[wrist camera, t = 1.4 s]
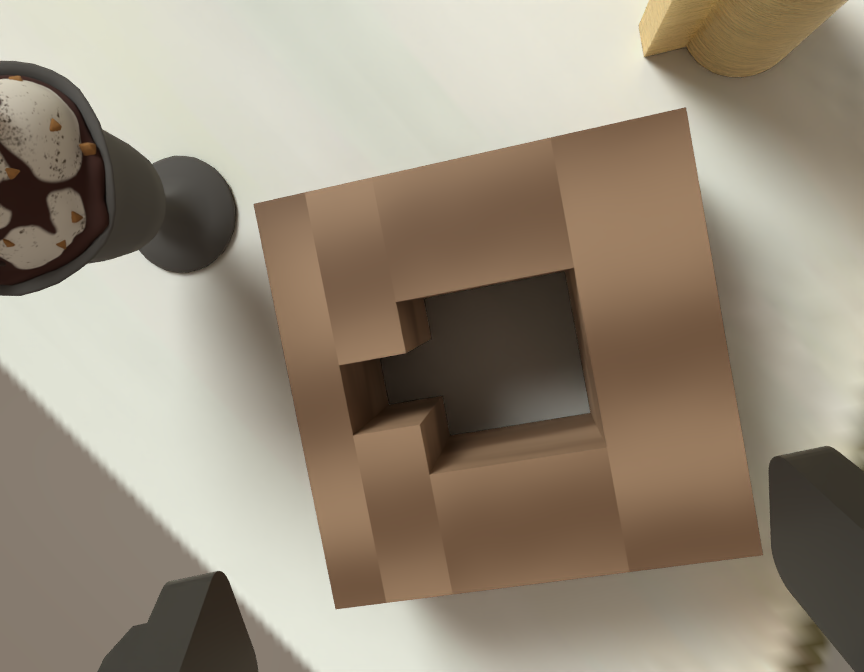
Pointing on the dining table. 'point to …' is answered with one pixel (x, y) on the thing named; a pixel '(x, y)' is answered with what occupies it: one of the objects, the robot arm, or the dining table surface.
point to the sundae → (93, 191)
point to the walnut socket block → (531, 442)
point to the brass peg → (732, 30)
